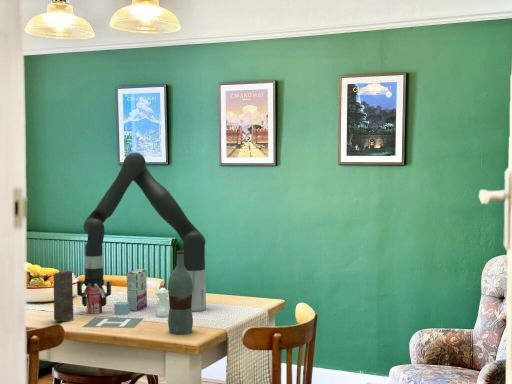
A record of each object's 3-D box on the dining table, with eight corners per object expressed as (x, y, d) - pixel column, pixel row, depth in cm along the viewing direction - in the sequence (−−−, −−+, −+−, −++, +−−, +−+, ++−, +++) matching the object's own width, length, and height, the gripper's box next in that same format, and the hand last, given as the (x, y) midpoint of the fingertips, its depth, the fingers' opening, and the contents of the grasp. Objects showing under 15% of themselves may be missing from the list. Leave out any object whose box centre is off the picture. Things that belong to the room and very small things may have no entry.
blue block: (129, 314, 275) (129, 302, 275) (126, 316, 270) (126, 304, 270) (117, 313, 275) (117, 302, 275) (114, 316, 270) (114, 304, 270)
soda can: (88, 316, 270) (87, 287, 270) (85, 313, 276) (85, 284, 276) (103, 314, 273) (103, 286, 272) (100, 311, 279) (100, 283, 278)
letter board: (144, 319, 264) (144, 318, 264) (134, 329, 248) (134, 327, 248) (94, 319, 265) (94, 317, 265) (81, 328, 249) (81, 327, 249)
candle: (62, 324, 256) (62, 273, 255) (49, 322, 260) (49, 271, 259) (77, 320, 262) (77, 270, 262) (64, 318, 266) (64, 269, 266)
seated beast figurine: (178, 315, 273) (178, 286, 272) (171, 319, 264) (171, 289, 264) (157, 314, 275) (156, 285, 274) (149, 318, 266) (149, 289, 266)
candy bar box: (136, 305, 291) (136, 268, 291) (147, 306, 290) (147, 269, 290) (126, 311, 280) (126, 272, 280) (137, 311, 279) (137, 272, 279)
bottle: (163, 333, 242) (162, 251, 241) (175, 327, 251) (174, 249, 250) (186, 335, 239) (186, 253, 238) (197, 329, 247) (197, 250, 246)
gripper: (113, 265, 277) (113, 304, 278) (80, 265, 278) (80, 303, 279) (108, 268, 270) (108, 308, 270) (74, 267, 271) (74, 307, 271)
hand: (94, 305), depth 274 cm, fingers open, 7 cm apart
